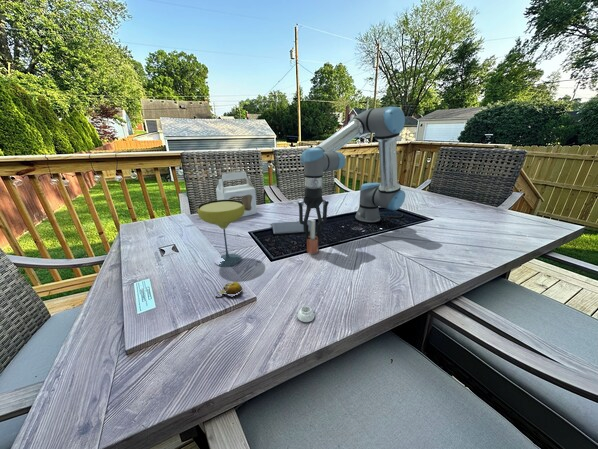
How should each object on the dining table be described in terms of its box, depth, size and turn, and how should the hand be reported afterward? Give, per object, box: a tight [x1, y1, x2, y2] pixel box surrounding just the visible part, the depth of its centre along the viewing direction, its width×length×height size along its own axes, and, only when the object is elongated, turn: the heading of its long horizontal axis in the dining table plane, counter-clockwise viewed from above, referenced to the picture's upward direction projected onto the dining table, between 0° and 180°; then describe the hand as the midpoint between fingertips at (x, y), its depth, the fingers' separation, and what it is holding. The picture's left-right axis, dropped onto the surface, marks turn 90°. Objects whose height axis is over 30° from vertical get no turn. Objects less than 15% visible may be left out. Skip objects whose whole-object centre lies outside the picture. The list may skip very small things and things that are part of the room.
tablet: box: [271, 220, 310, 236], centre depth 142 cm, size 23×17×1 cm
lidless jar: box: [297, 305, 315, 323], centre depth 74 cm, size 5×3×5 cm
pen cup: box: [306, 235, 319, 254], centre depth 113 cm, size 5×5×7 cm
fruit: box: [217, 281, 243, 299], centre depth 85 cm, size 8×8×4 cm
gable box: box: [215, 171, 258, 218], centre depth 162 cm, size 22×13×28 cm, turn 127°
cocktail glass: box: [197, 199, 245, 268], centre depth 103 cm, size 18×18×25 cm
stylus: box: [309, 219, 316, 240], centre depth 112 cm, size 2×2×15 cm
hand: (312, 237), depth 112 cm, fingers open, 4 cm apart
